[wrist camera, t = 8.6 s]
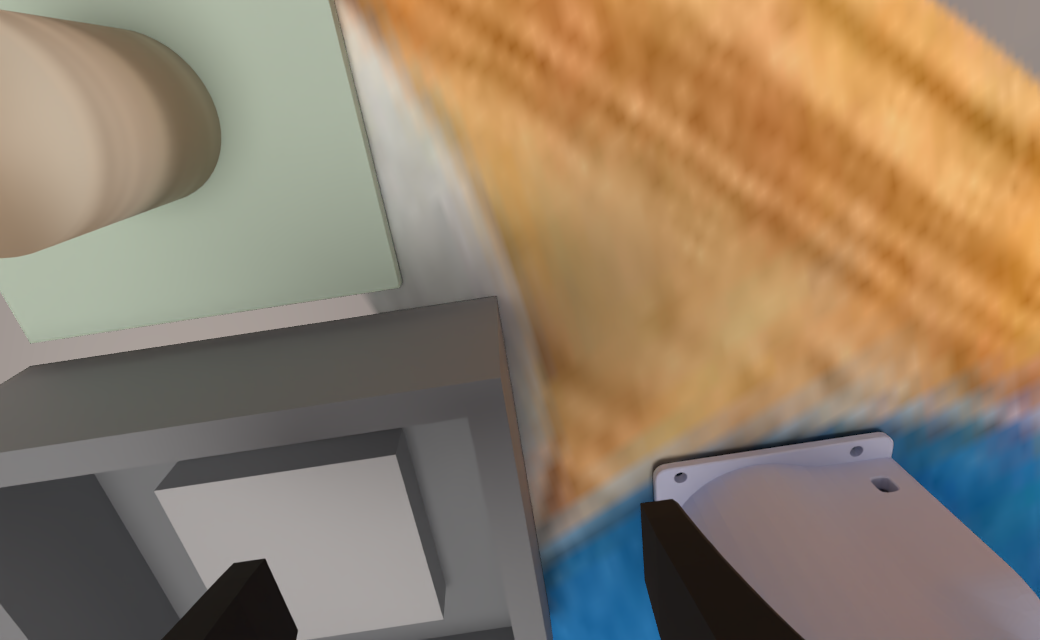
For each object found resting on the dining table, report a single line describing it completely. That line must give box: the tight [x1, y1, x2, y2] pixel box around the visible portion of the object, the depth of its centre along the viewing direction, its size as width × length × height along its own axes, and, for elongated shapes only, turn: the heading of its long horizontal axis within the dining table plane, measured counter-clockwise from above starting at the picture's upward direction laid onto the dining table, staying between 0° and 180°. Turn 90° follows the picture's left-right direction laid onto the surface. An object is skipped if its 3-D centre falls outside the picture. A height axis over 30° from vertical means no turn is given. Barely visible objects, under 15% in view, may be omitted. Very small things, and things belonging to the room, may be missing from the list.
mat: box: [0, 0, 402, 343], centre depth 15 cm, size 12×12×1 cm
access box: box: [0, 296, 553, 640], centre depth 19 cm, size 16×16×6 cm
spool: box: [0, 10, 221, 258], centre depth 12 cm, size 4×4×6 cm
